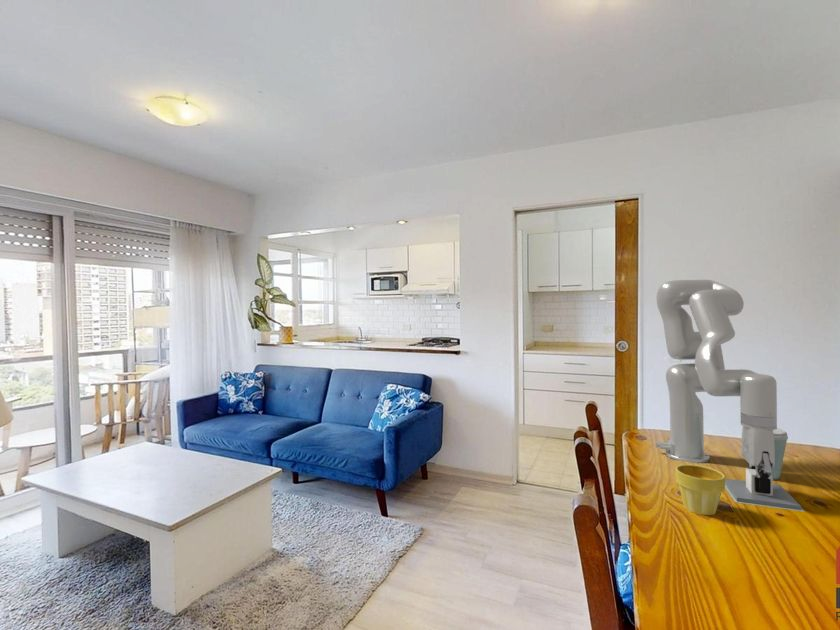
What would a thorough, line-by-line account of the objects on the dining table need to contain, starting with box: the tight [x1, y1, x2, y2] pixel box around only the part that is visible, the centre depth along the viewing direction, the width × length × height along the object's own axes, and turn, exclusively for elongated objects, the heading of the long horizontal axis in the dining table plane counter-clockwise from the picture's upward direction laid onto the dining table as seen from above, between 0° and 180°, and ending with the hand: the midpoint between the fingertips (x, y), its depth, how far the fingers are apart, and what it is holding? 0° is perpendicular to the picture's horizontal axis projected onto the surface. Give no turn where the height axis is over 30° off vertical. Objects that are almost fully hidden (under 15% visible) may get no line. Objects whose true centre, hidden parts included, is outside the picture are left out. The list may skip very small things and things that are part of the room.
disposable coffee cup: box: [761, 427, 789, 481], centre depth 122 cm, size 11×11×15 cm
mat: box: [725, 485, 806, 513], centre depth 110 cm, size 14×14×1 cm
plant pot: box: [674, 463, 726, 516], centre depth 104 cm, size 10×10×10 cm
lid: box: [725, 467, 802, 510], centre depth 110 cm, size 13×13×6 cm
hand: (759, 487), depth 110 cm, fingers closed on lid, 4 cm apart
